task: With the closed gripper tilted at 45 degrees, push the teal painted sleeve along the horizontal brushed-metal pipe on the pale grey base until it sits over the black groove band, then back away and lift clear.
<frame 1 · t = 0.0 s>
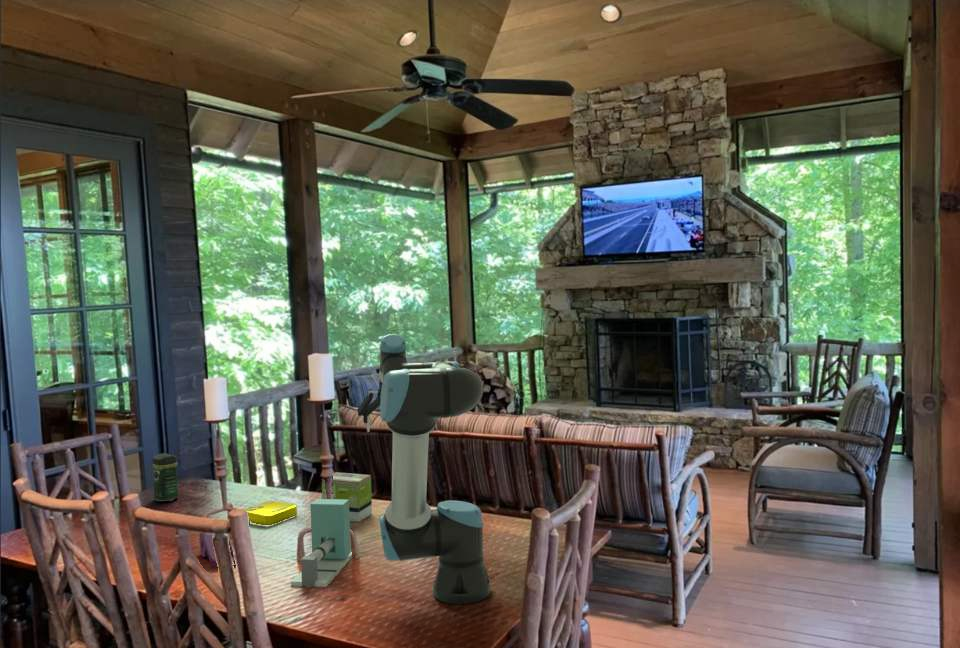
hand: (389, 427, 221), 36 cm above the table, tool tilted 35°, fingers open, 13 cm apart
sleeve: (330, 528, 201), point 10 cm above the table, slide at 0.0 cm
coffee jar: (166, 500, 272), on the table
tea box: (347, 517, 245), on the table
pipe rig: (324, 569, 196), on the table
element tile: (269, 520, 245), on the table
mounting bracket: (222, 559, 207), on the table
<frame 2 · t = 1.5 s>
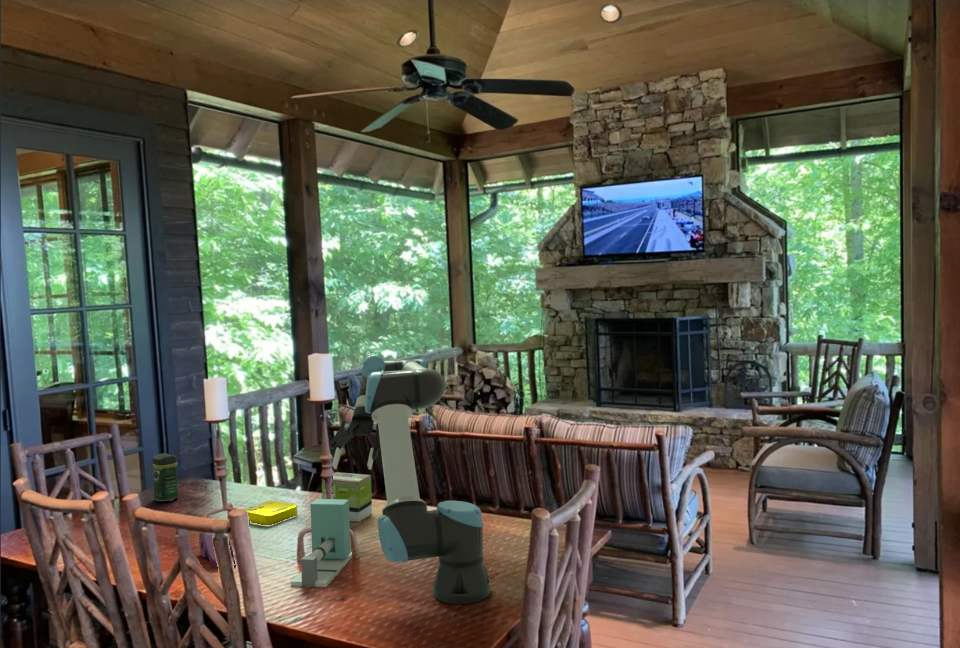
hand: (351, 467, 220), 23 cm above the table, tool tilted 45°, fingers open, 11 cm apart
nothing on the table moved.
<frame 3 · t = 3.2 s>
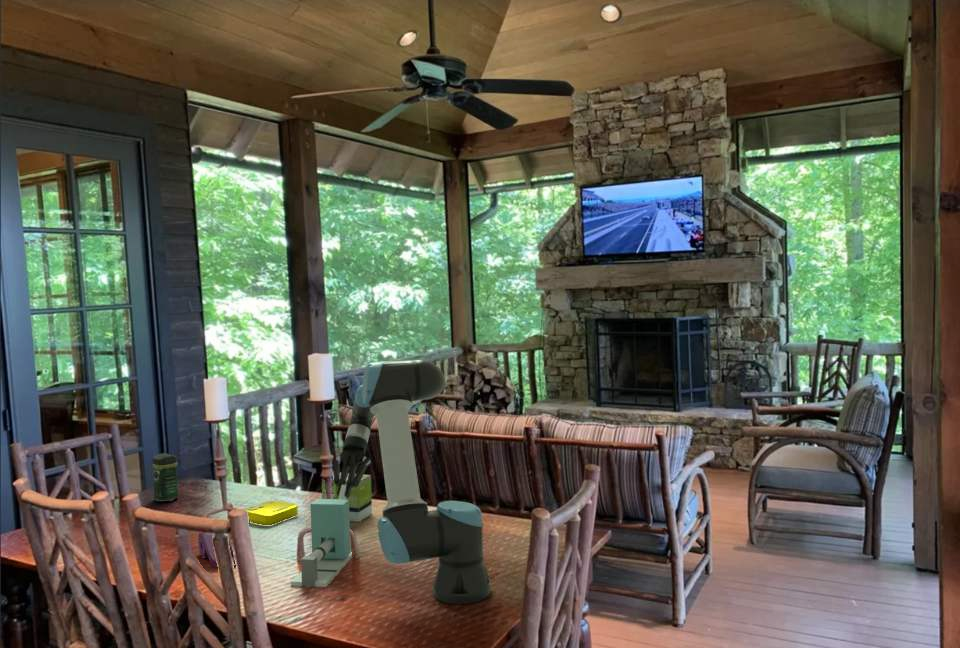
hand: (340, 505, 211), 14 cm above the table, tool tilted 45°, fingers closed
nothing on the table moved.
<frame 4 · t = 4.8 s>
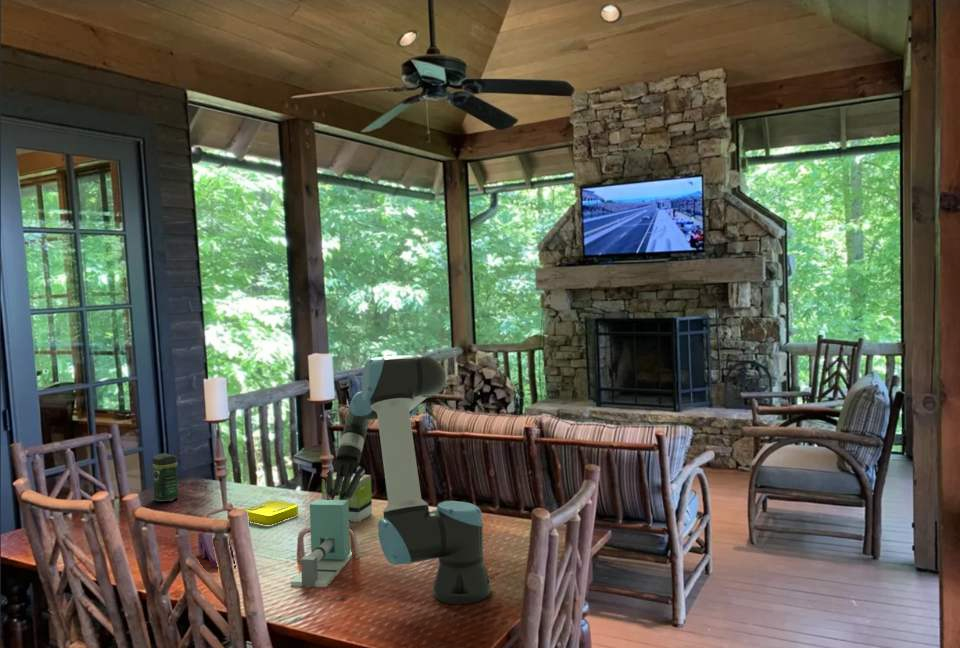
hand: (333, 517, 205), 12 cm above the table, tool tilted 45°, fingers closed
sleeve: (330, 529, 201), point 10 cm above the table, slide at 0.5 cm, touching gripper
everything else where it was.
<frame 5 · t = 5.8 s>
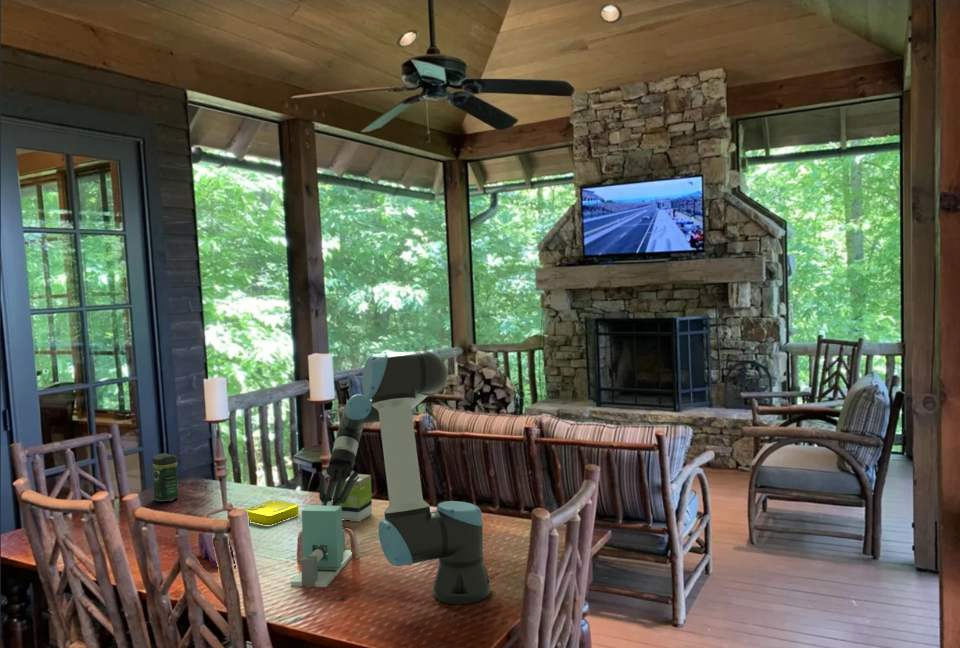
hand: (326, 523, 199), 12 cm above the table, tool tilted 45°, fingers closed
sleeve: (322, 535, 195), point 10 cm above the table, slide at 6.3 cm, touching gripper
everything else where it was.
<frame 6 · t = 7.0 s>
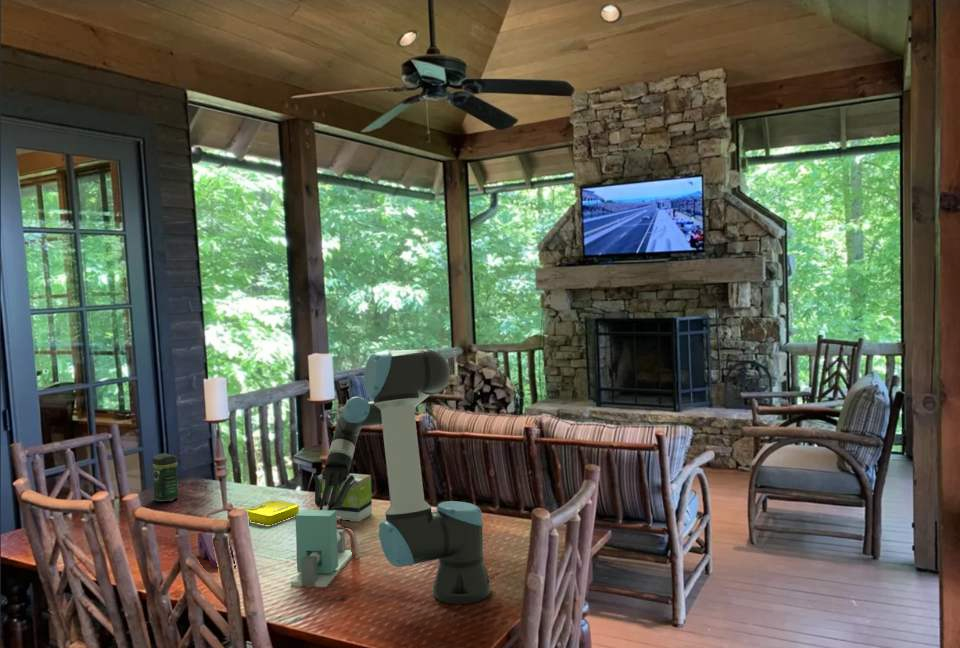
hand: (321, 528, 195), 12 cm above the table, tool tilted 45°, fingers closed
sleeve: (317, 541, 191), point 10 cm above the table, slide at 10.6 cm, touching gripper
everything else where it was.
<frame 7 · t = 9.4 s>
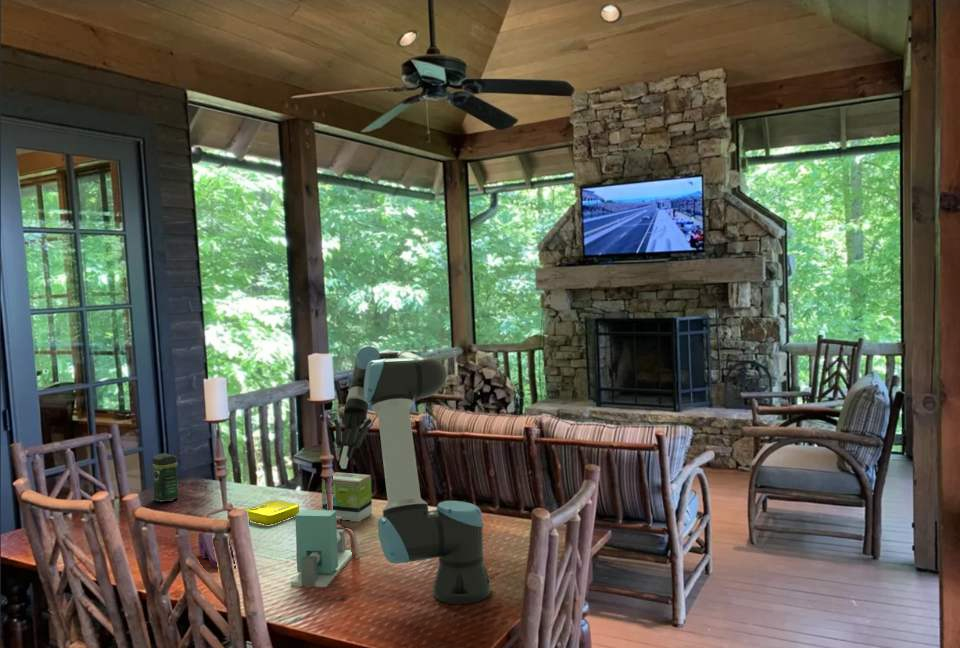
hand: (342, 466, 211), 26 cm above the table, tool tilted 45°, fingers closed
sleeve: (316, 541, 191), point 10 cm above the table, slide at 10.7 cm
everything else where it was.
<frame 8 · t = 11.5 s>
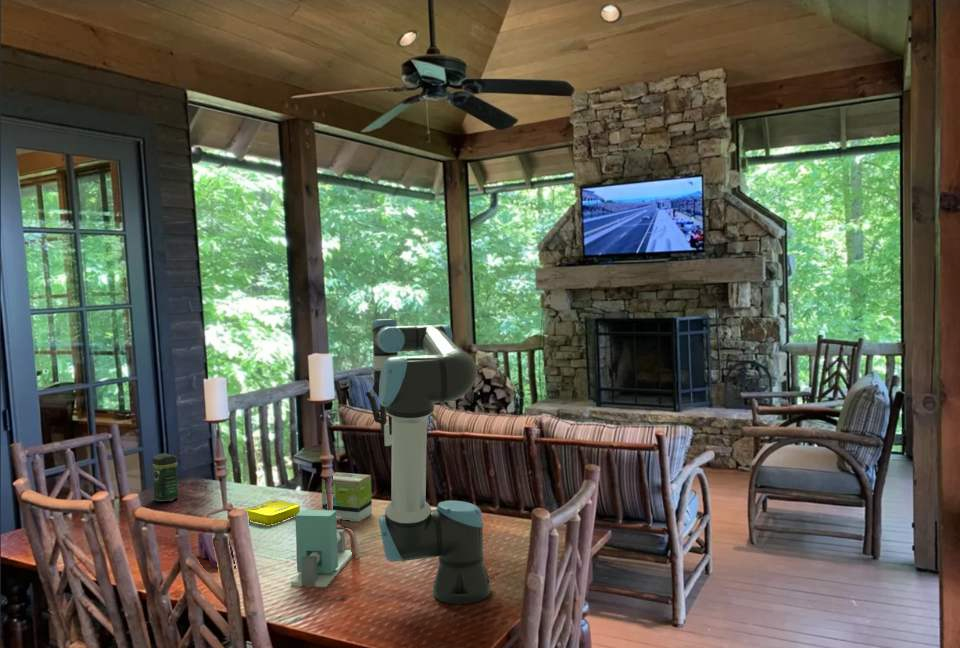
hand: (388, 444, 211), 32 cm above the table, tool pointing down, fingers closed
at the end: sleeve slide at 10.7 cm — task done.
